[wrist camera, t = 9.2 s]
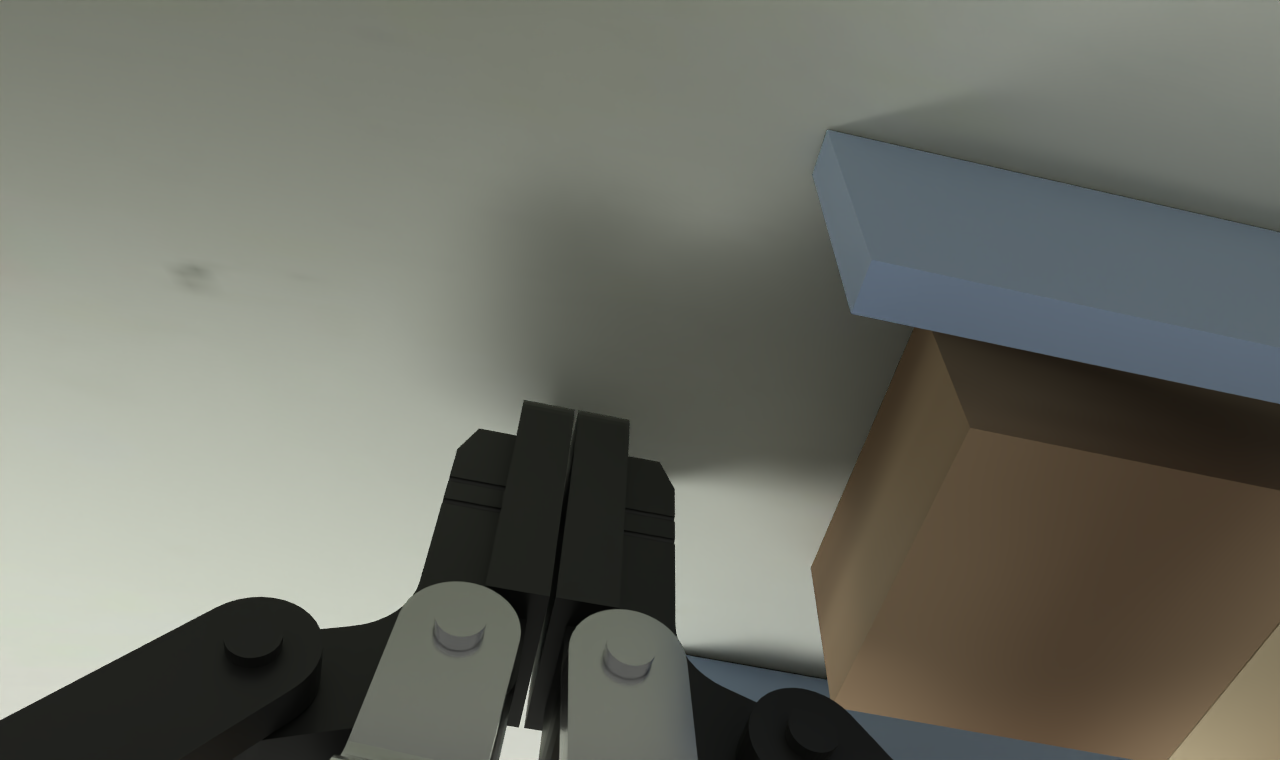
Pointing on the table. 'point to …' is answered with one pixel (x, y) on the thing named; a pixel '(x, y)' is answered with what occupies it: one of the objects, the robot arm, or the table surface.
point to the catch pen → (1036, 313)
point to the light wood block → (1242, 713)
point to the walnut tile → (1050, 550)
